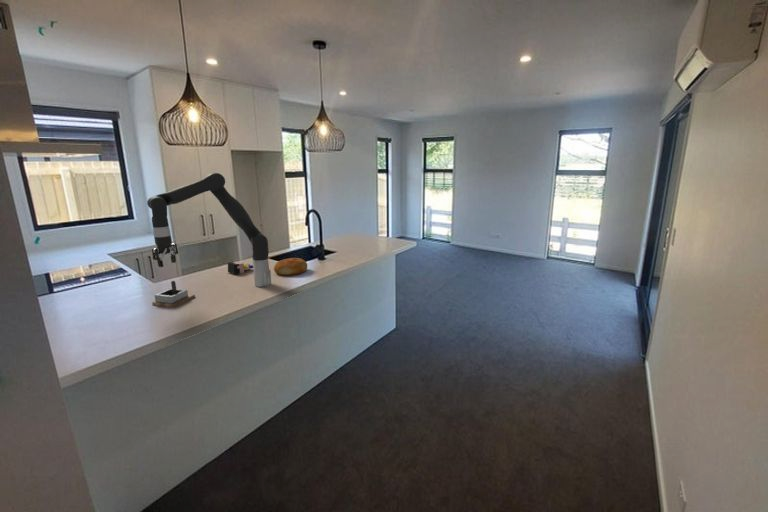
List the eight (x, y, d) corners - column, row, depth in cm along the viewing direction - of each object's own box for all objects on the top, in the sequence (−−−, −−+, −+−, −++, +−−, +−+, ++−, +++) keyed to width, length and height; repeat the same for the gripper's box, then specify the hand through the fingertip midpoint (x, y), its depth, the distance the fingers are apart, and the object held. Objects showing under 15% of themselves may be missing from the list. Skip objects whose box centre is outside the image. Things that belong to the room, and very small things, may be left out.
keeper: (195, 297, 197) (192, 278, 194) (174, 307, 183) (171, 286, 180) (174, 295, 200) (171, 276, 197) (152, 304, 186) (149, 284, 183)
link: (188, 296, 194) (187, 289, 193) (173, 303, 184) (172, 296, 183) (171, 294, 196) (170, 288, 195) (155, 302, 186) (154, 295, 185)
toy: (255, 262, 247) (235, 265, 235) (254, 272, 248) (235, 274, 236) (245, 260, 254) (226, 262, 242) (245, 269, 255) (226, 271, 243)
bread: (274, 268, 254) (273, 255, 252) (306, 266, 261) (305, 254, 258) (274, 278, 233) (273, 264, 231) (309, 275, 240) (308, 261, 237)
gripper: (157, 238, 172) (163, 269, 176) (178, 232, 185) (183, 261, 189) (144, 237, 173) (150, 268, 177) (166, 232, 186) (171, 260, 191)
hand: (167, 264), depth 183 cm, fingers open, 8 cm apart
